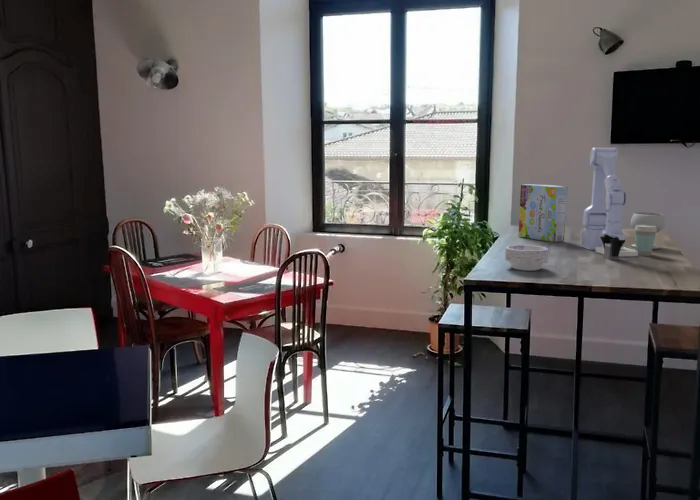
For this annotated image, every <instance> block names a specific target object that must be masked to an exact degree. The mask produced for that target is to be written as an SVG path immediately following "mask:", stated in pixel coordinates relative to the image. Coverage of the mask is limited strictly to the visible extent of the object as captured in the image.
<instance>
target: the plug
mask: <svg viewBox="0 0 700 500" xmlns="http://www.w3.org/2000/svg"><path fill="white" fill-rule="evenodd" d="M619 257H620V256H619V255H618V257H613V256H612V246H611V243H605V250H604V254H603V259H606V260H610V261H615V260H616V261H617V260H619Z"/></svg>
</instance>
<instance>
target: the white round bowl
mask: <svg viewBox="0 0 700 500" xmlns="http://www.w3.org/2000/svg"><path fill="white" fill-rule="evenodd" d="M504 260H505V261H506V262H509V264H510V267H511V268H512V269H513V270H517V271H525V272H527V271H528V272H532V271H539V270H541V269H542V267H543V266H544V264H547V263H548V262H549V248H548V247H545V246H540V245H531V244H530V245H527V244H526V245H525V244H522V245H521V244H517V245H515V244H514V245H508V246H505V255H504Z"/></svg>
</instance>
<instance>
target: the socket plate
mask: <svg viewBox="0 0 700 500" xmlns="http://www.w3.org/2000/svg"><path fill="white" fill-rule="evenodd" d="M595 252H596V253H598V254H601V255H604V246H602V247H596V250H595ZM638 256H639V255H638V251H636V249H632V248H628V247H625V246H622V247H621V249H620V252H619V257H638Z"/></svg>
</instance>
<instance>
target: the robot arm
mask: <svg viewBox="0 0 700 500" xmlns="http://www.w3.org/2000/svg"><path fill="white" fill-rule="evenodd" d="M618 157H619V150H618V148H616V147H595V146H594V147H592V149H591V151H590V153H589V167H591V168H592V169H593V171H592V173H593V174H592V176H593V177H592V187H591V188H592V189H591V201H590V202H591V204H590V205H589V206H588V207H586V208H585V209H584V210H583V214H582V220H581V221H582V226H583V227H584V228H583V230H582V232H581V234H582V235H581V244H580V245H579V248H582V249H583V248H584V249H585V250H589V251H590V250H595V251H596V247H604V250H605V243H611V246H612V256H613V257H618V255H619V252H620V249H621V247H623V245H624V244H625V242H626V234H624V233H622V226H623V225H622V223H623V212H624V211H623V210H624V206H625V205H626V202H627V194H626V190H624V189H623V188H622V184H621V180H620V177H619V176H617V175H616V164H617V160H618ZM605 191H606V195H605ZM604 195H605V206H604Z"/></svg>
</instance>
